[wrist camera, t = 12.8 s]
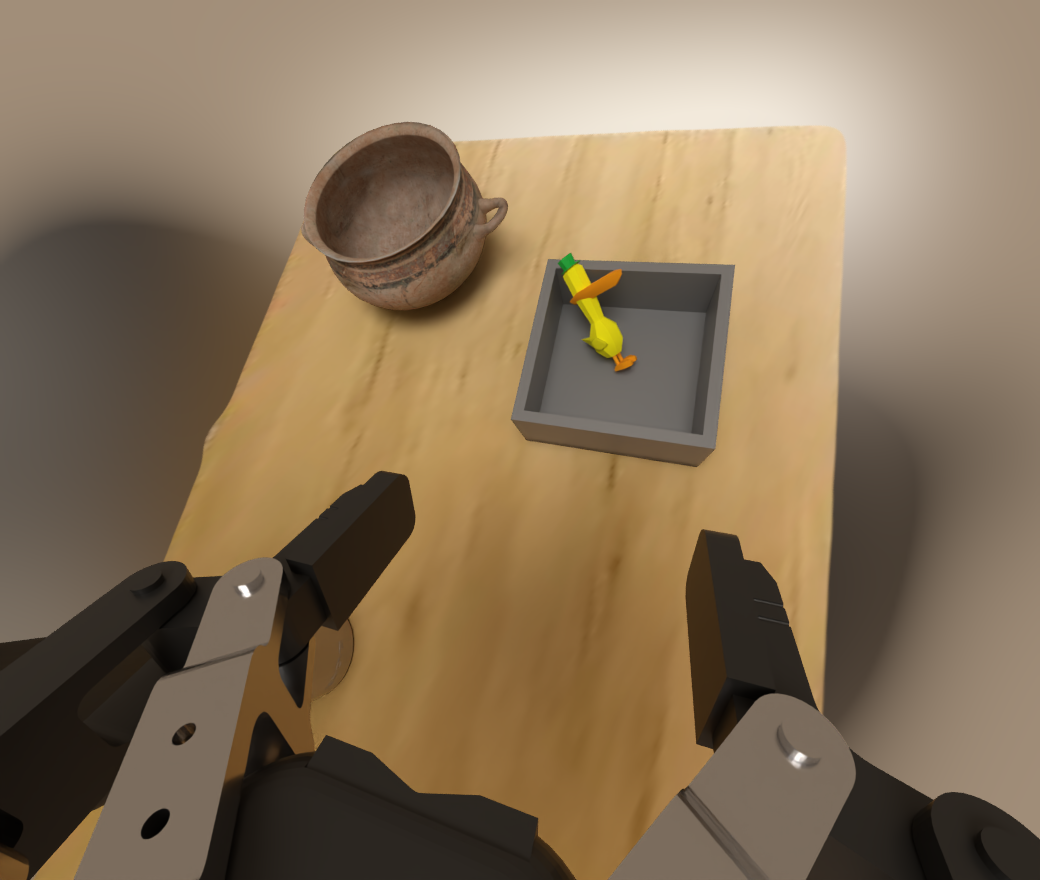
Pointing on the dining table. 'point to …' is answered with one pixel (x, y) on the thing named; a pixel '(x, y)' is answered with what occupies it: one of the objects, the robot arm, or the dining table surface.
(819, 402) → the dining table surface
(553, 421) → the bin
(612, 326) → the toy figure
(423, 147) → the cooking pot
